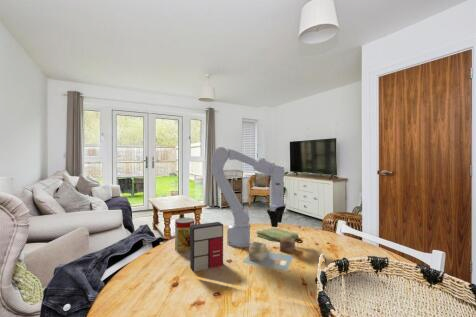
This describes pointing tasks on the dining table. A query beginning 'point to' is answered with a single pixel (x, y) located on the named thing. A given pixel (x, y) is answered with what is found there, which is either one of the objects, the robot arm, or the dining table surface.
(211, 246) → the grey toy cabinet
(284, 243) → the walnut block
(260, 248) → the birch block
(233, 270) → the dining table surface
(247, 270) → the dining table surface
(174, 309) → the dining table surface
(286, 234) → the washcloth
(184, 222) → the canned food
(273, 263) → the board
